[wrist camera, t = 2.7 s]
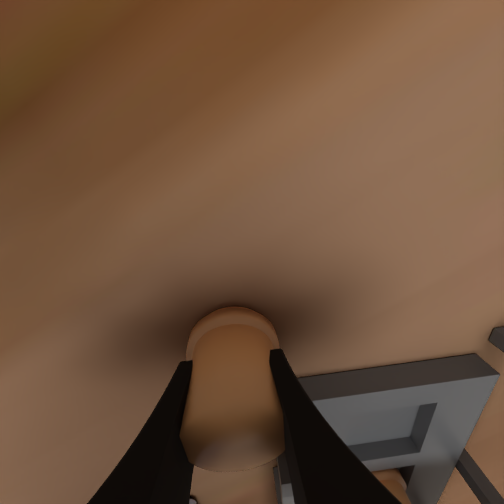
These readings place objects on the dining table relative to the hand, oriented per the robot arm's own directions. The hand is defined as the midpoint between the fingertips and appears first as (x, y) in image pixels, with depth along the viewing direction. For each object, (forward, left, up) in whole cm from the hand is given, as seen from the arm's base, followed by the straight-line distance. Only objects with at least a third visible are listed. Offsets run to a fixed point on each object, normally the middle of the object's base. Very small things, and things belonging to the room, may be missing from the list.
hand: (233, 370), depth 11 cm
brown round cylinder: (0, 0, -2) cm, 2 cm away
